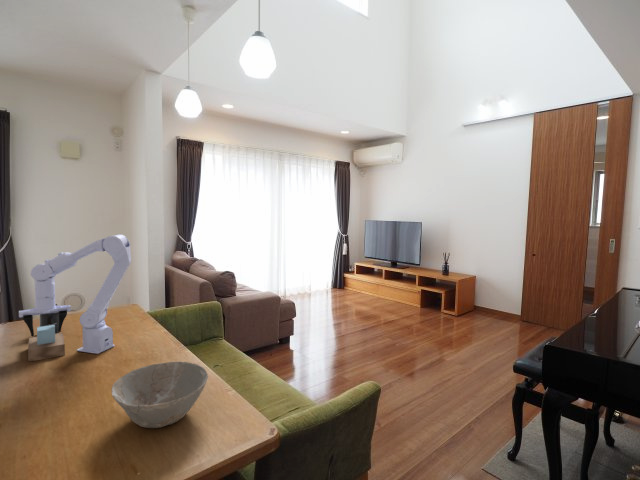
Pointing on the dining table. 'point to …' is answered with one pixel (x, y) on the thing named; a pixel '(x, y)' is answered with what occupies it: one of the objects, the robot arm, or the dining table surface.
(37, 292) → the robot arm
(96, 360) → the dining table surface
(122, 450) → the dining table surface
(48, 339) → the blue cube
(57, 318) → the supplement bottle
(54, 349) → the walnut block
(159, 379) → the ceramic bowl
